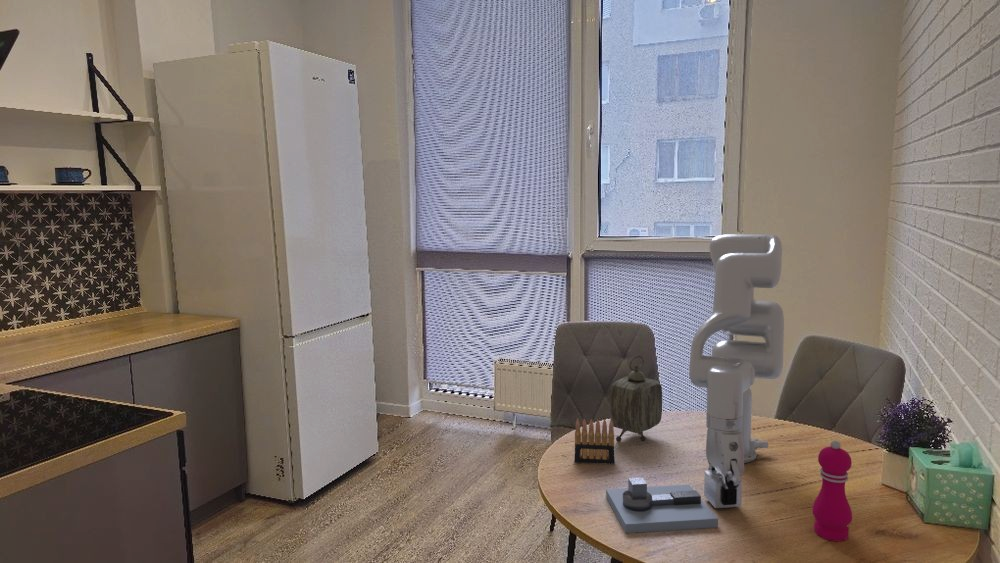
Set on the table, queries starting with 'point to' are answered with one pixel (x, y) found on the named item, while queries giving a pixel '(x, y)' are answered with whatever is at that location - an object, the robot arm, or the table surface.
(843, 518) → the pepper mill
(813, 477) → the table surface
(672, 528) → the slate board
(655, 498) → the ratchet
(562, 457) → the table surface
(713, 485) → the matte grey cube
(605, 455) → the ammunition clip
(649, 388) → the tabletop clock
